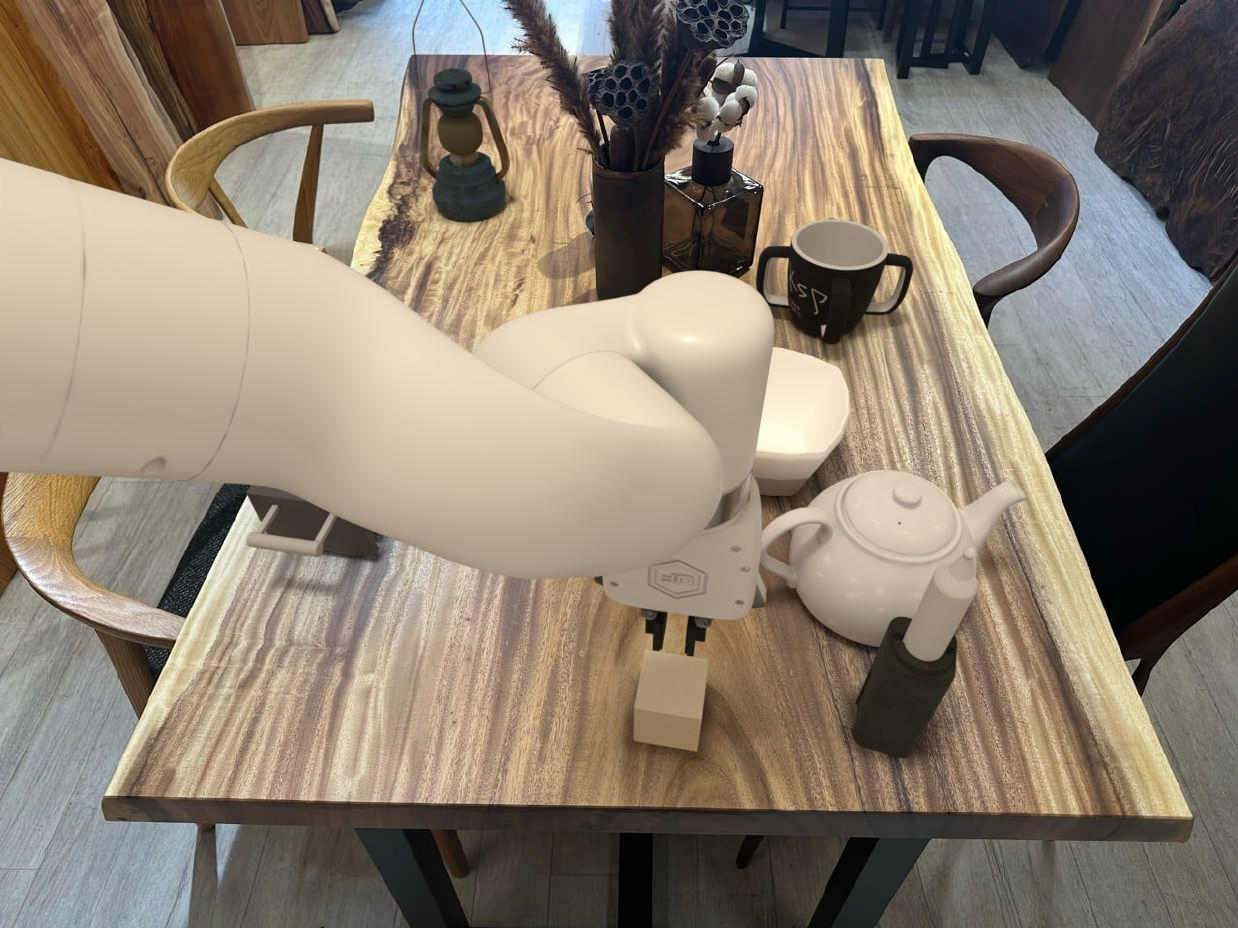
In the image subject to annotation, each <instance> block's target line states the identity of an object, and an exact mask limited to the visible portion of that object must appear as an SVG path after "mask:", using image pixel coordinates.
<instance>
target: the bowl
mask: <svg viewBox="0 0 1238 928" xmlns="http://www.w3.org/2000/svg"><path fill="white" fill-rule="evenodd" d="M850 395H851V393H850V390H849V387H848V385H847V382H846V380H845V378H844V375H843V371H842V370H841V369H840V367H838V366H836V365H833V364H831V363H829V362H827V361H824V360H822V359H819V358H817V357H816V356H812V355H809V354H806V353H802V352H798V351H794V350H792V349H788V348H783V347H776V346H773V351H772V357H771V363H770V369H769V375H768V381H767V387H766V394H765V400H764V406H763V412H762V418H761V424H760V430H759V437H758V443H757V449H756V455H755V461H754V468H753V474H752V475H753V476H754V478H755V480H756V482H757V484H758V488H759V493H760V496H761V495H762V496H769V497H791V496H794V495H796V494H797V493H799V491H800V490H801V489H802V487H803V486H804V485H805V484H806V483H807V481H808V480H809V479H810V477H812V475H814V473H815V472H816V471H817V470H818V469H819V467H820V466H821V465H822V464H823V463H824V461H825V460H826V459H827V458H828V457H829V456H830V455H831V453H832V452H833V451H834V449H835V448H836V447H837V446H838V445H839V444H840V442H841V441H842V440H843V437H845V436H844V435H845V434H846V431H847V429H848V426H849V423H850V421H851V419H852V416H851V415H852V413H851V412H852V411H851V396H850Z"/></svg>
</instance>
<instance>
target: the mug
mask: <svg viewBox="0 0 1238 928" xmlns="http://www.w3.org/2000/svg"><path fill="white" fill-rule="evenodd" d="M771 259H788V260H787V273H786V275H787V280H786V281H787V285H786V286H787V295H780V294H774V293H771V292H770V290H769V288H768V276H769V275H768V274H769V268H770V263H771ZM757 262H758V263H757V269H756V276H755V289H756V290H757V291H758V292H759V293H760V294H761V295H762V296H763V298H764V299H765V301H766V302H767V304H768V305H769V307H770V308H777V309H786V310H788V312H789V317H790V319H791V322H793V324H794V325H795V326H796V327H797V328H798V329H799V330H801V331H803V332H805V333H807V334H809V335H812V336H816V337H820V340H821V341H822V343H824V344H826V345H837V344H839V343H840V342H841V340H842V338H843V336H846V335H847V334H850V333H851V332H853V331H854V330H855V329H856V328H857V327H858V326H859V325H860V323H861V321H862V320H863V318H864V316H887V315H890V314H892V313H894V312H895V311H896V310H897V309H898V308H899V307H900V306H901V304H903V302H904V301H905V298H906V296H907V293H908V290H909V287H910V284H911V281H912V278H913V274H914V263H913V260H912V259H911V258H910V257H909V256H908V255H906V254H905V255H904V254H899V253H892V252H890V250H889V243H888V242H887V240H886V239H885V238H884V236H883V235H881V233H880V232H878V231H876V230H875V229H874V228H872V227H870V226H868V225H865V224H863V223H860V222H856V221H852V220H848V219H839V218H834V217H830V218H826V219H825V218H824V219H818V220H813V221H809V222H807V223H805V224H802V225H800V226H799V227H798V228H797V229H796V230H795V231H794V232H793V233H792V234H791V239H790V245H770V246H769V245H768V246H766V247H764V248H763V250H762V251H761V252H760V254H759V256H758V261H757ZM885 266H891V267H899V268H900V272H899V275H898V279H897V283H896V285H895V289H894V290H893V293H892V295H891V296H890V297H889V299H887V300H886V301H884V302H872V300H873V298H874V296H875V293H876V291H877V289H878V287H879V284H880V281H881V279H882V276H883V273H884V270H885Z"/></svg>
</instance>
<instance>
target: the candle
mask: <svg viewBox="0 0 1238 928" xmlns="http://www.w3.org/2000/svg"><path fill="white" fill-rule="evenodd" d="M977 555H978V553H977V552H976V550H975V549H974V548H972V547H966V548H965V549H964V550H963V554H962V555H961V556H960V557H959V558H957V559H956V560H955V561H953V562H950V563H946V564H942V565H941V566H939V567H938V568H937V569H936V570H935V572H934V574H933V576H932V578H931V580H930V582H929V584H928V587H927V589H926V591H925V593H924V595H923V597H922V600H921V602H920V604H919V606H918V608H917V610H916V613H915V615H914V617H913V618H908V617H896V618H894V619H892V620H891V622H890V623H889V626H888V628H887V630H886V633H885V635H884V637H883V640H882V642H881V644H880V647H878V649H877V651H876V653H875V656H874V658H873V661H872V663H871V665H870V668H869V670H868V672H867V674H866V677H865V679H864V682H863V684H862V687H861V688H860V691H859V693H858V695H857V698H856V700H855V705H856V707H857V708H856V715H855V721H854V723H853V726H852V728H851V735H852V738H853V740H854V742H855V743H856V744H858V745H859V746H861V747H863V748H866V749H869V750H873V751H876V752H880V753H883V754H886V755H889V756H893V757H896V758H906V757H908V756H909V755H910V754H911V753H912V751H913V749H914V748H915V746H916V745H917V743H918V741H919V740H920V738H921V736H922V735H923V733H924V731H925V729H926V727H927V726H928V725H929V723H930V721H931V720H932V718H933V716H934V714H935V713H936V711H937V709H938V707H939V706H940V704H941V702H942V701H943V699H944V697H945V695H946V693H947V692H948V690H949V688H950V687H951V685H952V683H953V682H954V681H955V678H956V673H957V657H958V656H957V655H958V639H957V637H956V635H955V634H956V631H957V629H958V628H959V625H960V624H961V622H962V620H963V618H964V616H965V615H966V613H967V611H968V609H969V608H970V605H971V603H972V601H973V600H974V598H975V596H976V594H977V593H978V590H979V582H978V578H977V575H976V576H975V574H974V572H973V559H974V558H975V557H977Z"/></svg>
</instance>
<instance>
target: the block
mask: <svg viewBox="0 0 1238 928" xmlns="http://www.w3.org/2000/svg"><path fill="white" fill-rule="evenodd" d="M643 651H644V652H643V657H642V662H641V668H640V673H639V678H638V683H637V689H636V695H635V700H634V706H633V741H634V742H638V743H644V744H649V745H655V746H661V747H668V748H675V749H679V750H685V751H690V752H696V753H697V752H698V749H699V743H700V735H701V729H702V720H703V713H704V705H705V696H706V689H707V688H706V687H707V679H708V671H709V669H708V668H709V663H710V659H708V658H703V657H696V656H693V657H691V656H687V655H683V654H675V653H670V652H665V651H653V650H651V649H644V650H643Z"/></svg>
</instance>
